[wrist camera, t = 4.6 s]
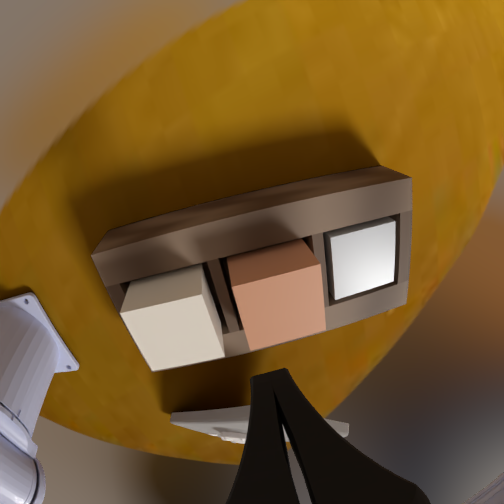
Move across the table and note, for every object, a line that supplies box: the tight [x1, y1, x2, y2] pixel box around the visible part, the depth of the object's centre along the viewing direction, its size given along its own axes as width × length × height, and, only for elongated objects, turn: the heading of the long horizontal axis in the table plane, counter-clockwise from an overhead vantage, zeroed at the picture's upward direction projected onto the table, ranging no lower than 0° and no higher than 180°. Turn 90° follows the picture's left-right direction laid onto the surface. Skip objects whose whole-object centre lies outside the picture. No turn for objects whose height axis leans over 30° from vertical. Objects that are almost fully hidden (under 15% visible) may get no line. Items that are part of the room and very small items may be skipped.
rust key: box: [227, 238, 326, 351], centre depth 16 cm, size 4×4×3 cm
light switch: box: [170, 405, 349, 444], centre depth 23 cm, size 8×6×14 cm
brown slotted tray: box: [91, 165, 412, 372], centre depth 18 cm, size 18×9×4 cm, turn 101°
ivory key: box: [120, 264, 225, 371], centre depth 16 cm, size 4×4×3 cm
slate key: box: [323, 216, 395, 300], centre depth 18 cm, size 4×4×3 cm
